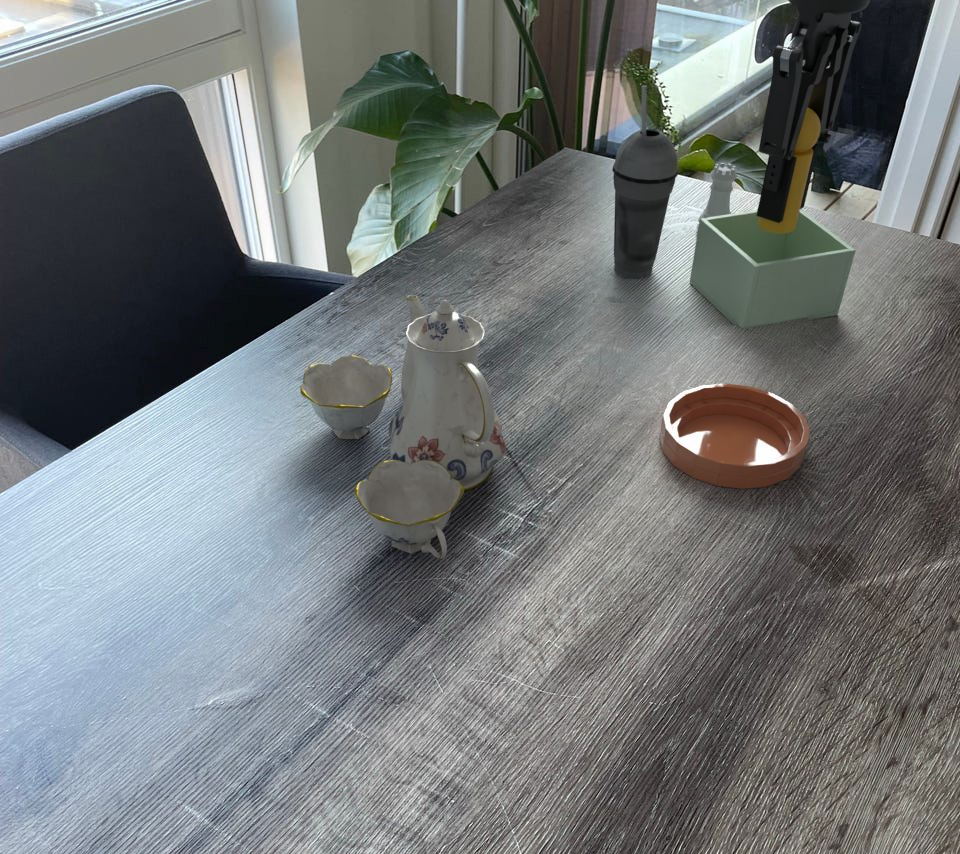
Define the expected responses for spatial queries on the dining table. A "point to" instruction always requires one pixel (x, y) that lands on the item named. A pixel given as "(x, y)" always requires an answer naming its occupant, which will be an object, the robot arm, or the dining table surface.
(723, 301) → the bin
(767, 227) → the toy figure
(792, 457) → the bowl
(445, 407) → the chinaware
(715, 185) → the rook chess piece
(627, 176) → the beverage cup
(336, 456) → the dining table surface
